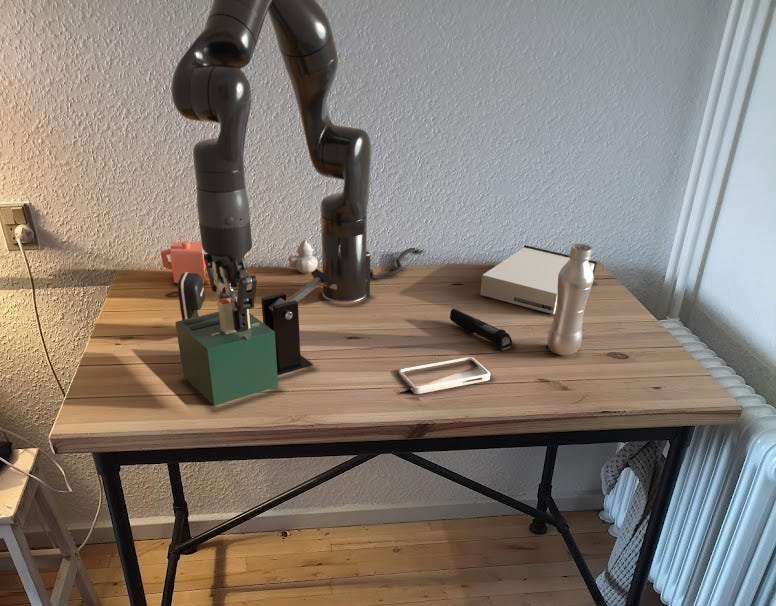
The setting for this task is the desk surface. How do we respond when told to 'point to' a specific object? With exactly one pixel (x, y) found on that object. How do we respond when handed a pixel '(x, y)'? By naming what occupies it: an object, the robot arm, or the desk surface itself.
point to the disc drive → (527, 279)
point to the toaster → (228, 359)
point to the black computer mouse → (190, 294)
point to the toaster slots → (203, 320)
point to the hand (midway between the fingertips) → (235, 325)
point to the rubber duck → (304, 258)
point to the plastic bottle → (571, 301)
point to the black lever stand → (284, 333)
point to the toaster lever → (306, 288)
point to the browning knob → (227, 316)
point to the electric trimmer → (481, 329)
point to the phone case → (449, 377)
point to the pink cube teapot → (185, 259)
